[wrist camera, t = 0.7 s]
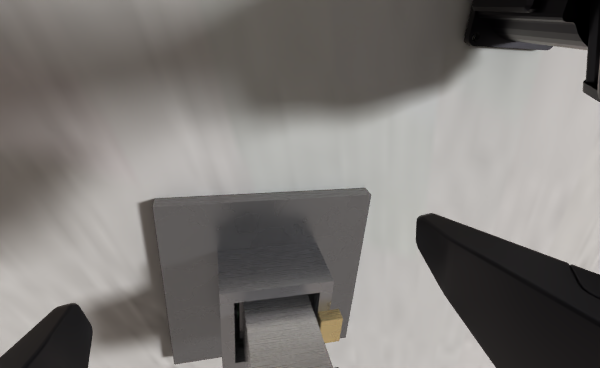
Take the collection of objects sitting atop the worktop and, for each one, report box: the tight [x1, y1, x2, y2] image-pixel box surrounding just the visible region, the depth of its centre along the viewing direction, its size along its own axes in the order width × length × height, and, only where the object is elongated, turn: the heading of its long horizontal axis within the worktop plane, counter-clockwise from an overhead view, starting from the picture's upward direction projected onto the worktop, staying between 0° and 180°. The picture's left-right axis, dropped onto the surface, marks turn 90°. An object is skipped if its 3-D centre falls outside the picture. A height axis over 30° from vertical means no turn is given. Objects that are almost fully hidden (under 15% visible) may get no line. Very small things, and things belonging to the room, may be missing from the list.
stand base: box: [153, 188, 371, 368], centre depth 24 cm, size 14×14×6 cm
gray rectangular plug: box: [237, 294, 338, 368], centre depth 21 cm, size 4×4×10 cm
